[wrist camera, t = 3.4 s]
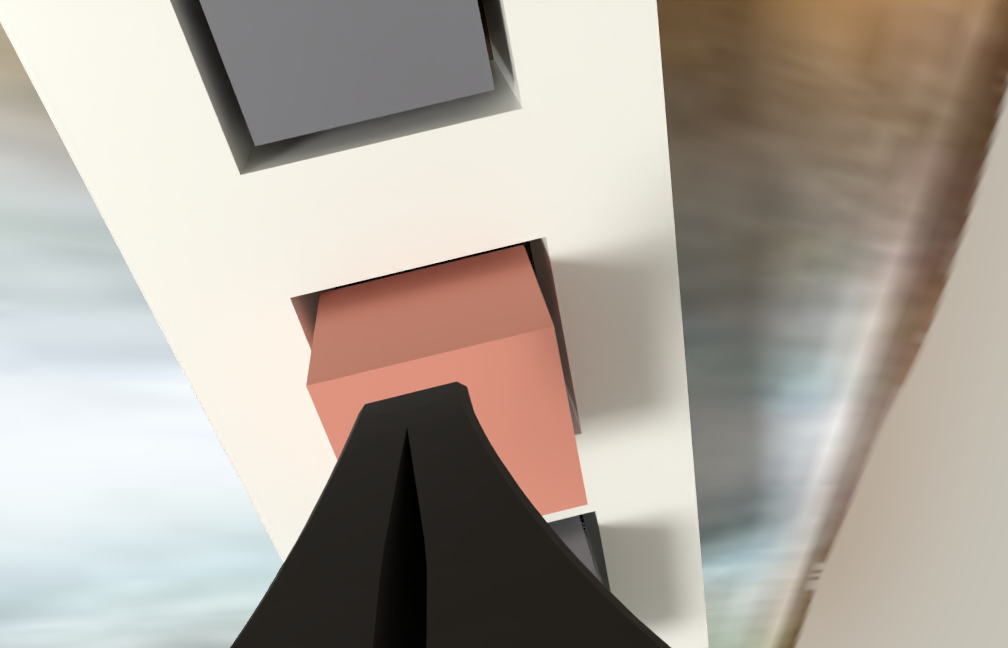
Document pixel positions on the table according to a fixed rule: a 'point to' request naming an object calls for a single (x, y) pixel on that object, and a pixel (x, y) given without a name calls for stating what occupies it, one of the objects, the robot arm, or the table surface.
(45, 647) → the table surface
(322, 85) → the near knob
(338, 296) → the middle knob
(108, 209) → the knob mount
